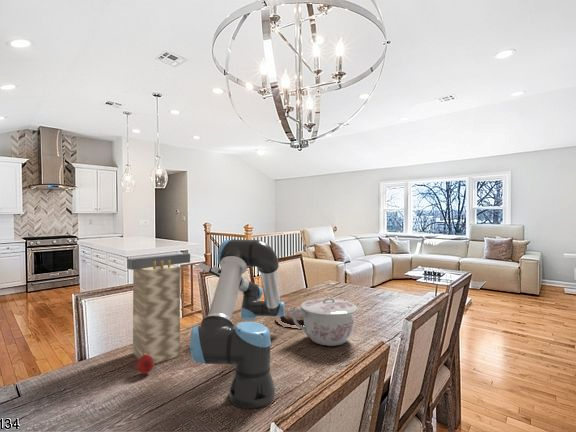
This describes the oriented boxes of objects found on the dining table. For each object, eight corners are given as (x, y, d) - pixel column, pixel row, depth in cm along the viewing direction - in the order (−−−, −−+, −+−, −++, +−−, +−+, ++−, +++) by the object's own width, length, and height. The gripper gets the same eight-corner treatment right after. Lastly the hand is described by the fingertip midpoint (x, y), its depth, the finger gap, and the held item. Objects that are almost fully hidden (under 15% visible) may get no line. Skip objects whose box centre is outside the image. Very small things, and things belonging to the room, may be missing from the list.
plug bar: (131, 269, 128) (131, 259, 128) (127, 268, 130) (127, 258, 130) (190, 262, 149) (190, 253, 149) (185, 261, 151) (185, 253, 151)
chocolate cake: (267, 326, 174) (267, 314, 174) (284, 312, 200) (284, 301, 200) (317, 333, 165) (317, 320, 165) (328, 316, 191) (328, 306, 191)
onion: (149, 369, 124) (149, 348, 124) (156, 373, 121) (156, 352, 121) (134, 374, 120) (134, 353, 120) (141, 379, 116) (141, 357, 116)
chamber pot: (365, 337, 159) (365, 295, 159) (345, 358, 135) (346, 309, 135) (314, 326, 173) (314, 288, 173) (288, 344, 150) (289, 299, 150)
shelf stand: (145, 366, 126) (146, 262, 126) (132, 353, 138) (133, 258, 138) (179, 356, 136) (180, 259, 136) (165, 344, 148) (165, 256, 148)
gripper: (228, 273, 175) (197, 256, 163) (255, 280, 157) (222, 261, 144) (222, 285, 173) (190, 269, 160) (248, 294, 154) (214, 277, 142)
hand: (205, 266), depth 152 cm, fingers open, 13 cm apart
